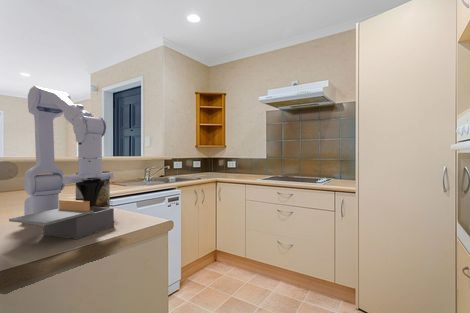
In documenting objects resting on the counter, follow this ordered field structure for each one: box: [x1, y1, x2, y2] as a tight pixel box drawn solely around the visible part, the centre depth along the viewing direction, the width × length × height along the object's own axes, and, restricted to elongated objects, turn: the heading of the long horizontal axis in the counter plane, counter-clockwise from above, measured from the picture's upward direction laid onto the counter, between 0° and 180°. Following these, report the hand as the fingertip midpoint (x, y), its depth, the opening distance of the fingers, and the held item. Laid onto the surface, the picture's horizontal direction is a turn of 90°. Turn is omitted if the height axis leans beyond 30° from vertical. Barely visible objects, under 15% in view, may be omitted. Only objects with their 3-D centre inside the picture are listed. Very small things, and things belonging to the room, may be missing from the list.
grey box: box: [43, 207, 115, 240], centre depth 67 cm, size 12×12×6 cm
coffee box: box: [75, 170, 111, 208], centre depth 82 cm, size 9×6×16 cm
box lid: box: [8, 199, 94, 226], centre depth 60 cm, size 12×12×3 cm
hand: (90, 206), depth 66 cm, fingers closed
